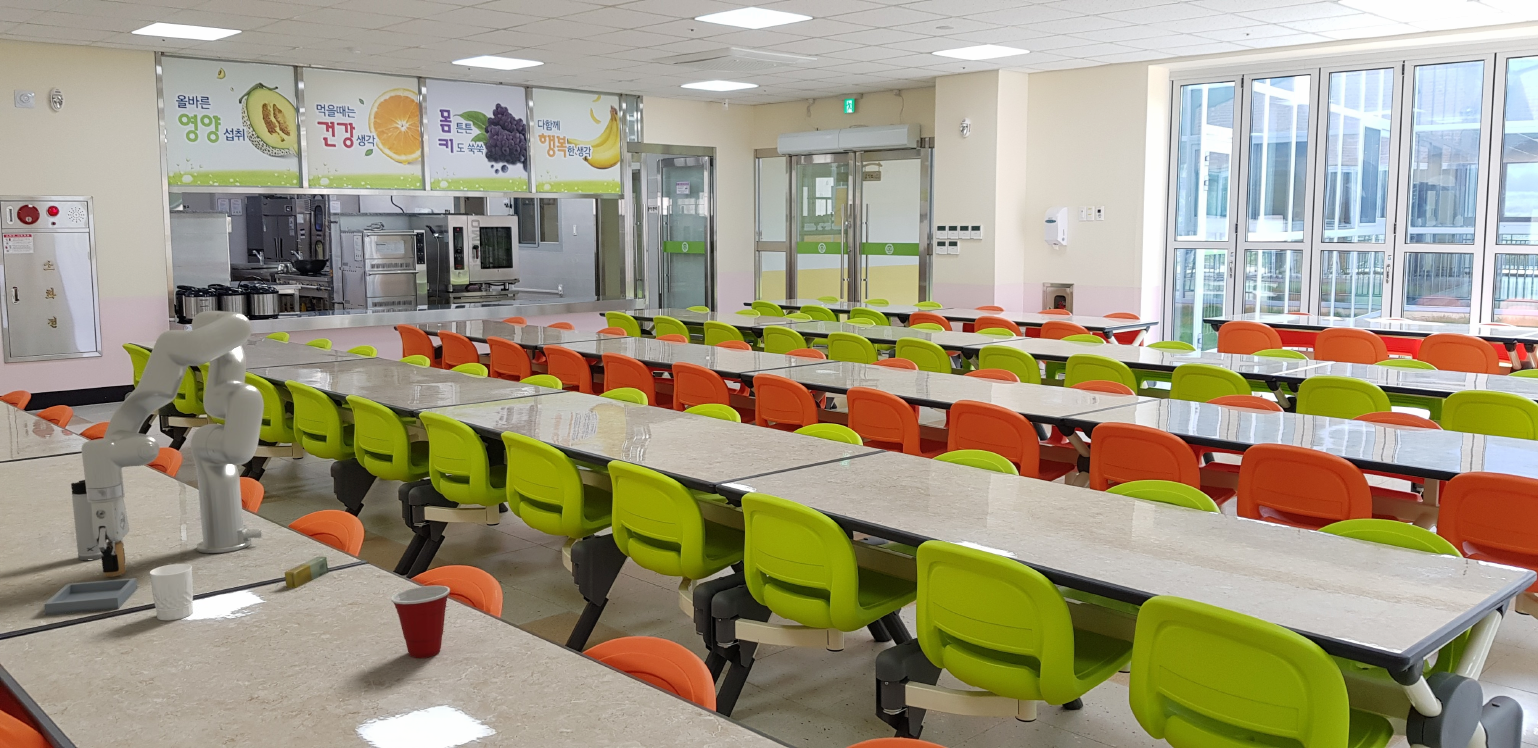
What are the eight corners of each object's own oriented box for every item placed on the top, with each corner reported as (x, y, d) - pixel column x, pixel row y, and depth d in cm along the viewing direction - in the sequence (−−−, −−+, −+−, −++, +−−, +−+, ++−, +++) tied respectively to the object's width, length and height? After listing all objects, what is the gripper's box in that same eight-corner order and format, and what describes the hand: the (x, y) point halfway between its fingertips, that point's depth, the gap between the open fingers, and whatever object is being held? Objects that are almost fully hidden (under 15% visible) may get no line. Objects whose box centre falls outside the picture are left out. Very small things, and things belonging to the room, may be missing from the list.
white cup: (149, 623, 236) (145, 576, 234) (159, 611, 243) (154, 565, 242) (191, 619, 238) (187, 573, 236) (199, 607, 245) (195, 562, 244)
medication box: (319, 572, 269) (317, 556, 269) (329, 572, 268) (327, 556, 268) (285, 588, 258) (283, 571, 257) (295, 589, 257) (294, 572, 256)
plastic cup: (432, 637, 225) (428, 578, 223) (465, 650, 218) (461, 589, 216) (382, 654, 217) (378, 593, 215) (415, 667, 210) (411, 604, 208)
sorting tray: (137, 588, 259) (136, 578, 258) (118, 608, 245) (117, 597, 245) (68, 594, 255) (67, 583, 255) (45, 615, 242) (44, 604, 241)
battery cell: (128, 569, 270) (124, 538, 269) (122, 575, 266) (119, 543, 265) (107, 571, 269) (104, 540, 268) (101, 577, 265) (97, 545, 264)
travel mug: (95, 561, 280) (87, 481, 278) (72, 560, 282) (64, 481, 279) (114, 554, 286) (107, 476, 284) (92, 553, 288) (84, 475, 285)
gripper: (112, 500, 257) (121, 578, 260) (134, 482, 274) (142, 556, 276) (75, 502, 256) (84, 581, 258) (99, 485, 272) (108, 559, 275)
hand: (114, 567), depth 267 cm, fingers closed on battery cell, 4 cm apart
